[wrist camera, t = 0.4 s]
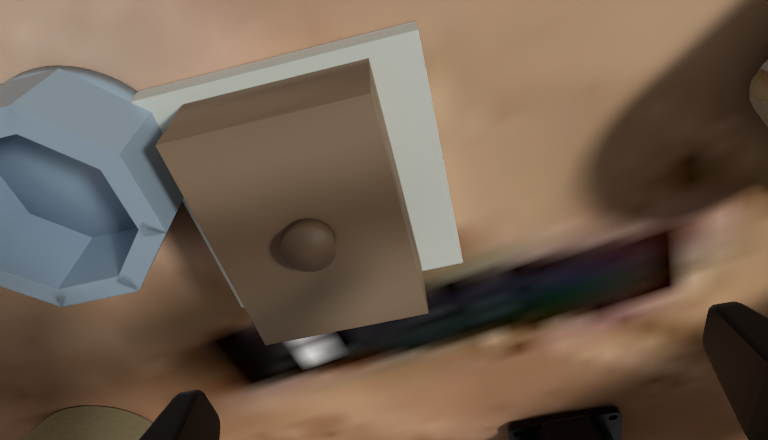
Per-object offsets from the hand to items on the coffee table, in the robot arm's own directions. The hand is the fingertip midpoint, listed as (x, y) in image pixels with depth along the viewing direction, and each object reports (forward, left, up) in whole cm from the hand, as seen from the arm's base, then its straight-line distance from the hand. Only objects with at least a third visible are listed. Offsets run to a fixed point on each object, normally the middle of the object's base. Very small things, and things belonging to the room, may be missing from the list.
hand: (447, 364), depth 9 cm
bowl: (+1, +12, -12) cm, 17 cm away
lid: (-2, +4, -11) cm, 12 cm away
